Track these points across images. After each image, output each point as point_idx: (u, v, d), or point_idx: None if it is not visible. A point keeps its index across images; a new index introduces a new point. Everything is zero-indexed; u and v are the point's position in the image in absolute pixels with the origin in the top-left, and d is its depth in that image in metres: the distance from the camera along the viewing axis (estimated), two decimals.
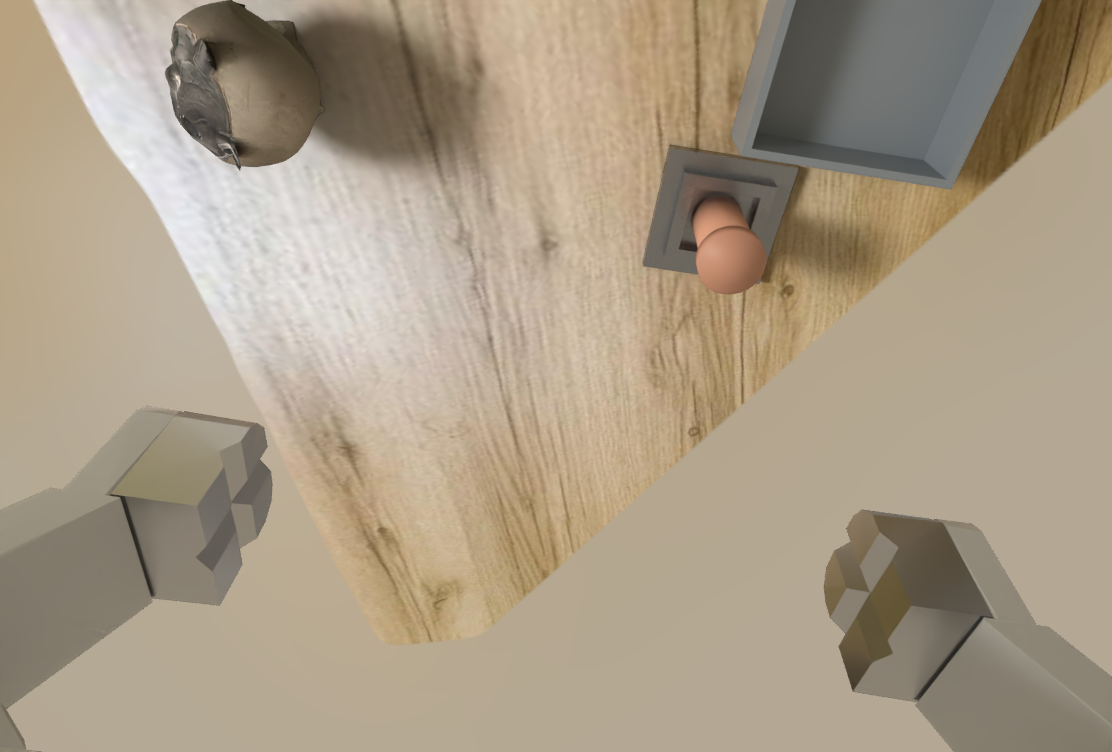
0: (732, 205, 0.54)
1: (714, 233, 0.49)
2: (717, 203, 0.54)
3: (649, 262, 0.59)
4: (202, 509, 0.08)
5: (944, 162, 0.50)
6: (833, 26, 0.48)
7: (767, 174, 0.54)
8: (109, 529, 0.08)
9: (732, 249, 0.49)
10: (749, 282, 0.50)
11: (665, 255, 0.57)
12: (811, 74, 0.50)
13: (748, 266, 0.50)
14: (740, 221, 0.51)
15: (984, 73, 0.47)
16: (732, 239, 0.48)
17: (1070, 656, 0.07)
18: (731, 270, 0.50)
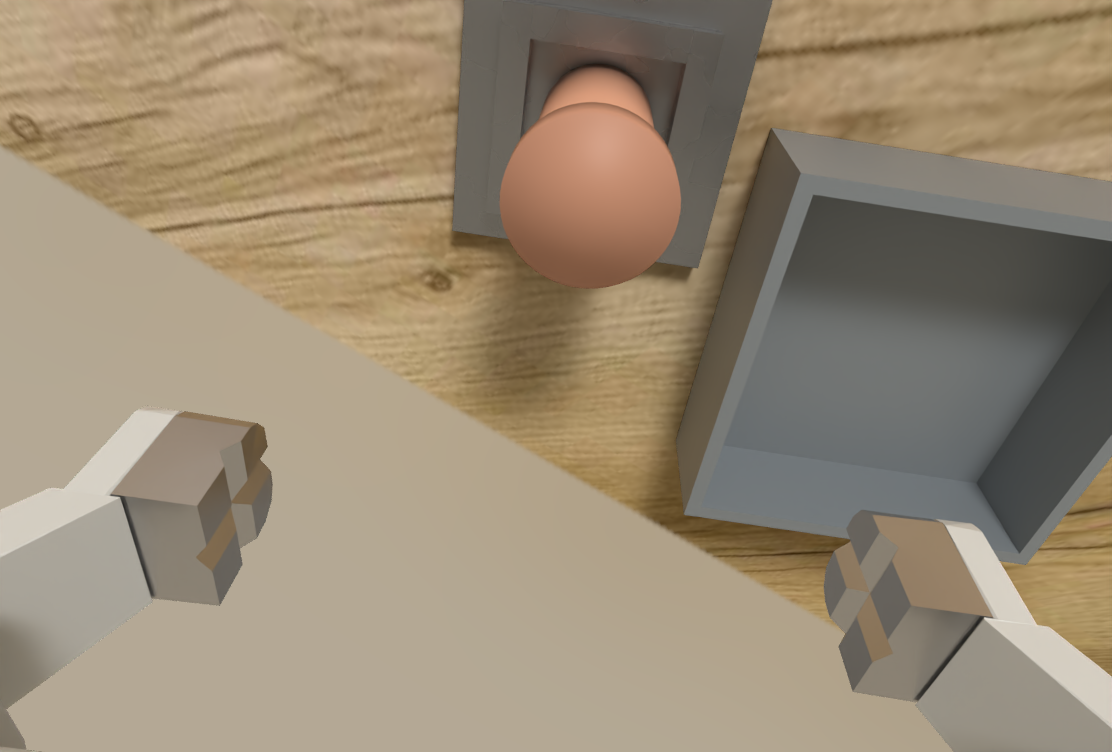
0: None
1: (666, 148, 0.18)
2: None
3: None
4: (202, 509, 0.08)
5: (715, 487, 0.31)
6: (943, 283, 0.28)
7: (691, 213, 0.27)
8: (109, 529, 0.08)
9: (632, 204, 0.18)
10: (537, 256, 0.19)
11: (511, 3, 0.22)
12: (868, 262, 0.28)
13: (583, 249, 0.19)
14: None
15: (846, 504, 0.31)
16: (660, 201, 0.18)
17: (1070, 656, 0.07)
18: (571, 208, 0.19)
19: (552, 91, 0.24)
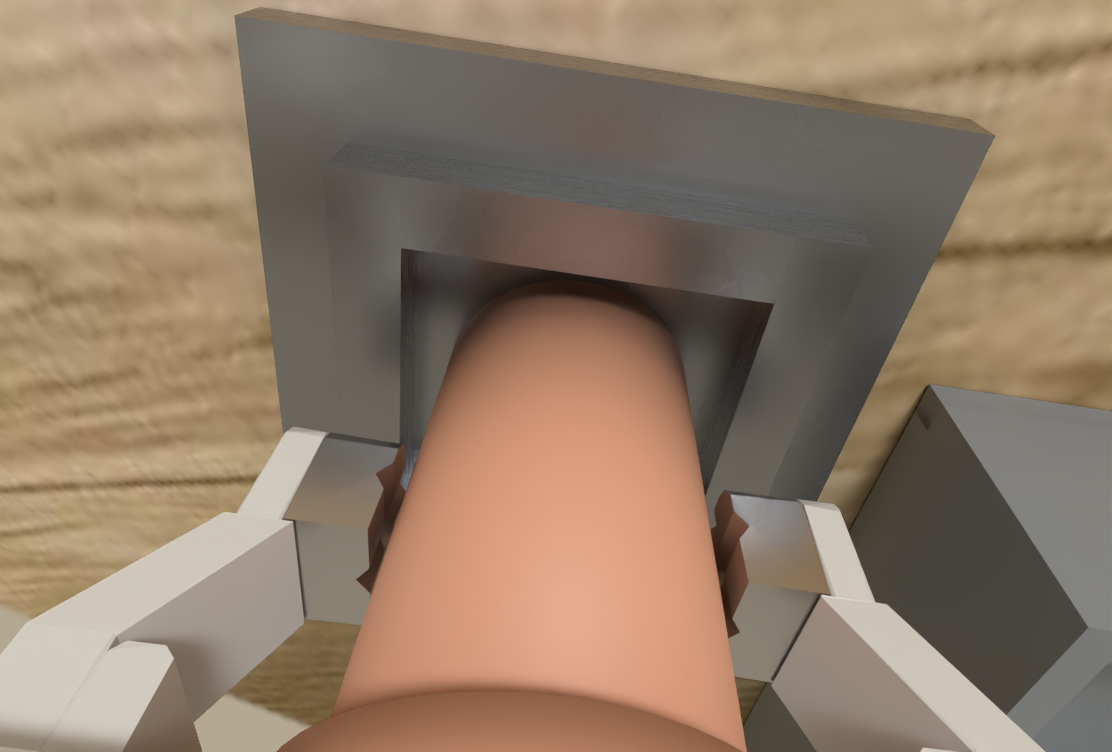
0: None
1: None
2: (693, 428, 0.10)
3: (270, 60, 0.09)
4: (369, 532, 0.08)
5: None
6: None
7: None
8: (281, 553, 0.08)
9: None
10: None
11: (346, 173, 0.09)
12: None
13: None
14: None
15: None
16: None
17: (901, 633, 0.07)
18: None
19: (461, 353, 0.10)
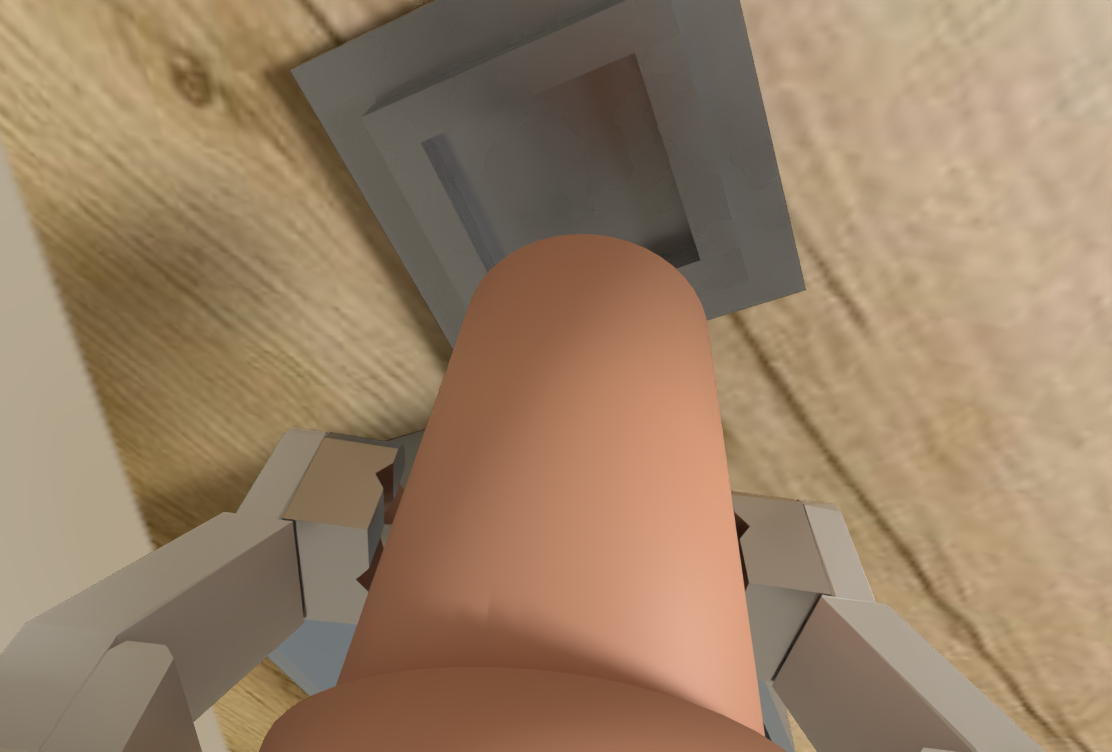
0: None
1: None
2: None
3: None
4: (368, 532, 0.08)
5: None
6: None
7: None
8: (280, 553, 0.08)
9: None
10: None
11: None
12: None
13: None
14: None
15: None
16: None
17: (901, 632, 0.07)
18: None
19: (493, 295, 0.10)
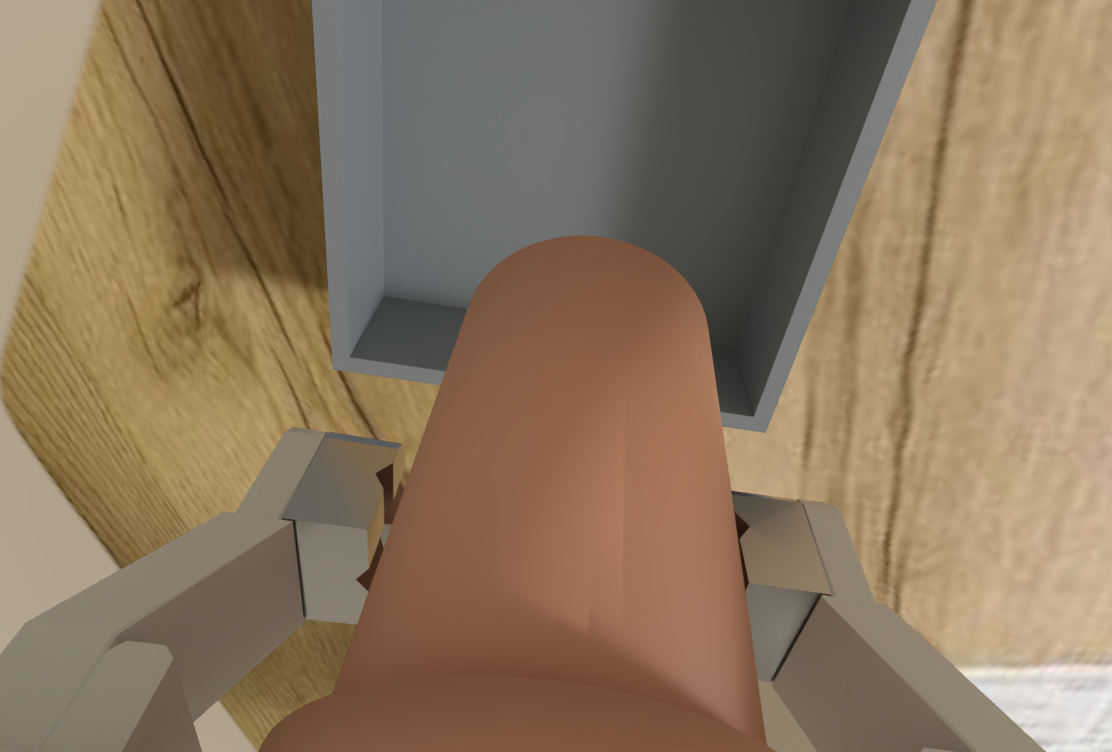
0: None
1: None
2: None
3: None
4: (368, 532, 0.08)
5: None
6: (668, 181, 0.24)
7: None
8: (280, 553, 0.08)
9: None
10: None
11: None
12: (702, 85, 0.22)
13: None
14: None
15: (356, 130, 0.21)
16: None
17: (901, 632, 0.07)
18: None
19: (492, 297, 0.10)
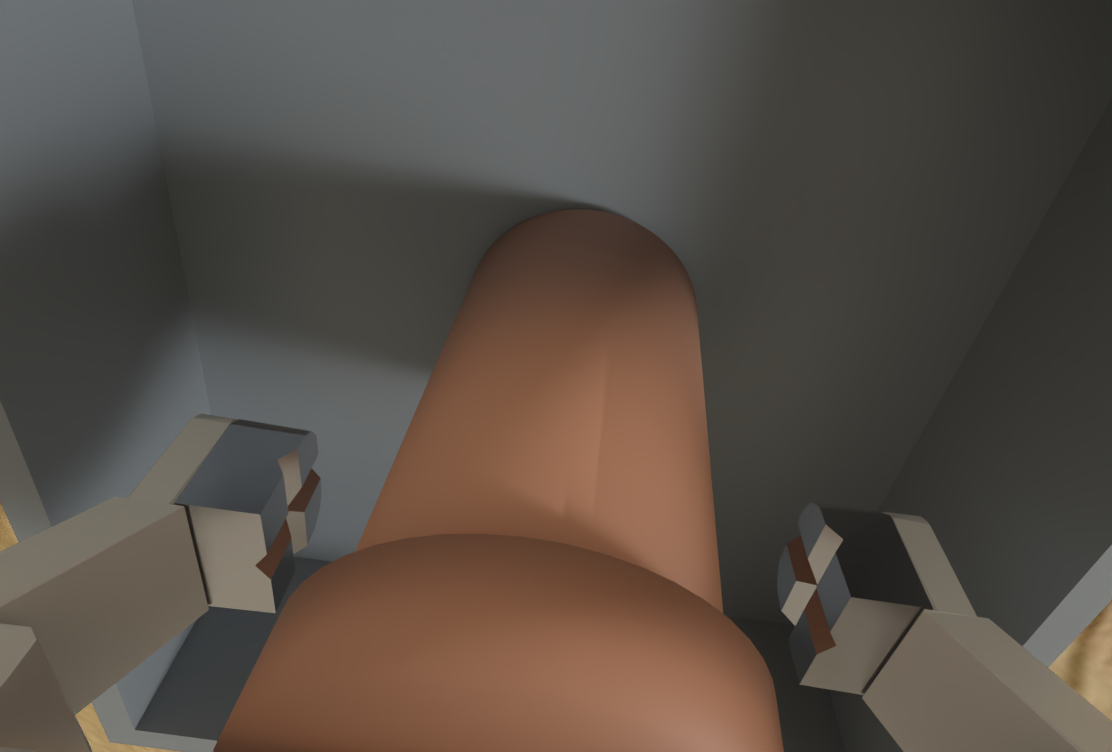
0: None
1: (771, 715, 0.06)
2: None
3: None
4: (264, 517, 0.08)
5: None
6: (712, 403, 0.13)
7: None
8: (173, 538, 0.08)
9: None
10: None
11: None
12: (784, 252, 0.12)
13: None
14: None
15: (87, 371, 0.10)
16: None
17: (1008, 647, 0.07)
18: None
19: (495, 263, 0.11)
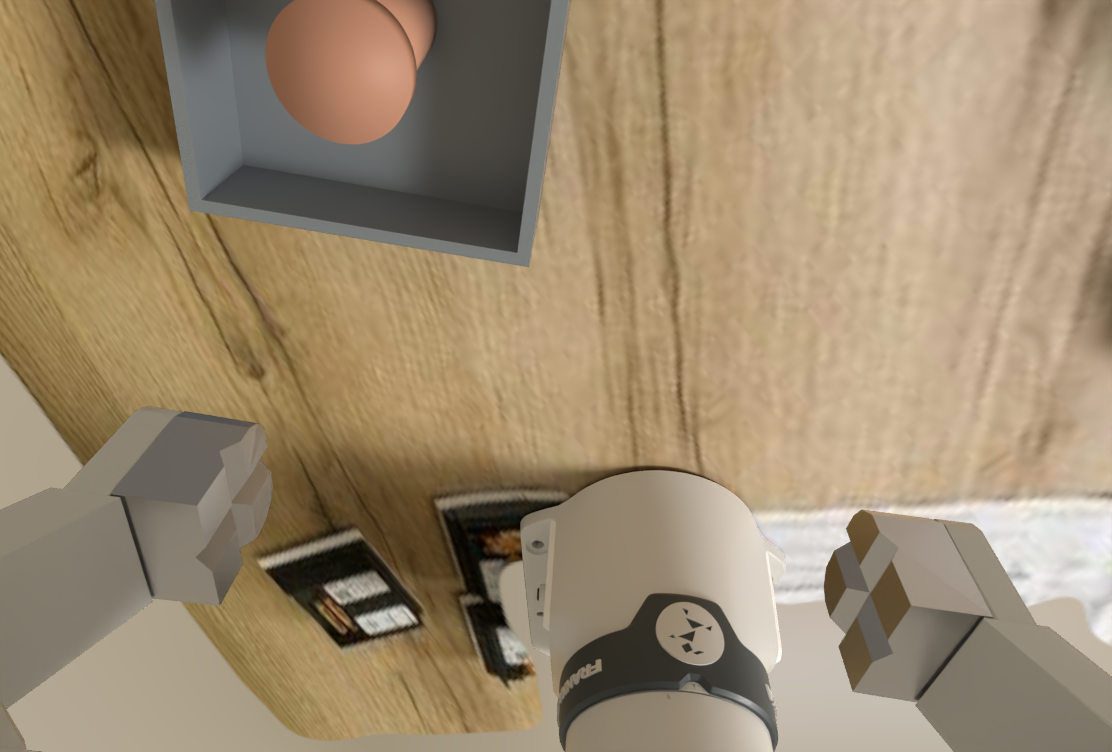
0: (426, 53, 0.29)
1: (402, 34, 0.23)
2: (430, 24, 0.29)
3: None
4: (202, 509, 0.08)
5: None
6: (452, 67, 0.31)
7: None
8: (109, 529, 0.08)
9: (372, 76, 0.23)
10: (299, 110, 0.24)
11: None
12: None
13: (336, 109, 0.24)
14: None
15: (192, 13, 0.28)
16: (394, 76, 0.23)
17: (1070, 656, 0.07)
18: (324, 73, 0.23)
19: None
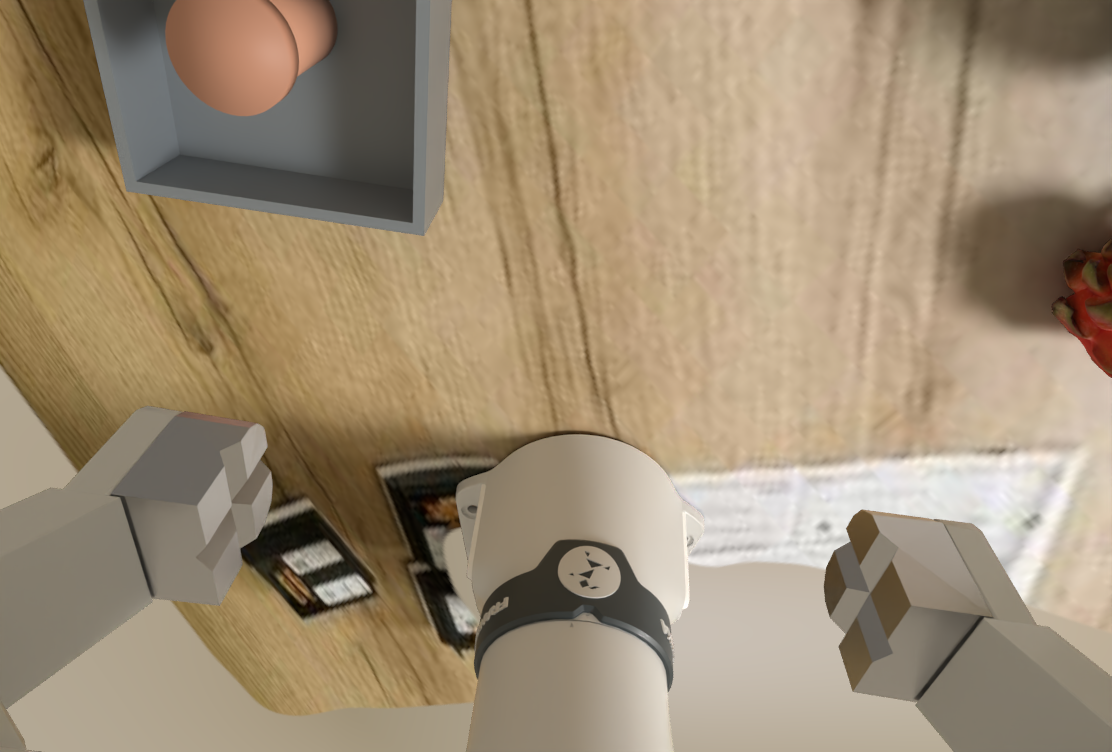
0: (325, 46, 0.34)
1: (278, 16, 0.28)
2: (326, 20, 0.33)
3: None
4: (202, 509, 0.08)
5: None
6: (353, 63, 0.35)
7: None
8: (109, 529, 0.08)
9: (255, 53, 0.28)
10: (200, 89, 0.29)
11: None
12: None
13: (230, 85, 0.28)
14: (304, 62, 0.31)
15: (121, 19, 0.32)
16: (274, 51, 0.28)
17: (1070, 656, 0.07)
18: (215, 54, 0.28)
19: None
